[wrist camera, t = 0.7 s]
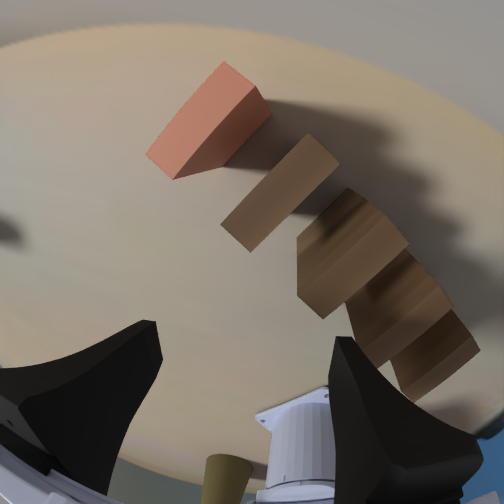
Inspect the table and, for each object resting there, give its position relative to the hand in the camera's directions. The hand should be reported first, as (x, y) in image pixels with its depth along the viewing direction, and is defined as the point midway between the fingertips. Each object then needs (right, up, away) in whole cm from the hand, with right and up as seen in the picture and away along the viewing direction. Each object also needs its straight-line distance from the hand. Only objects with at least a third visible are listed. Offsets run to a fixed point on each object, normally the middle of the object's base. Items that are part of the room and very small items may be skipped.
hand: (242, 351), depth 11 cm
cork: (-3, -23, +20) cm, 31 cm away
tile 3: (+6, +6, +8) cm, 11 cm away
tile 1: (+12, 0, +9) cm, 15 cm away
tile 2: (+9, +3, +9) cm, 13 cm away
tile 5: (-1, +12, +7) cm, 13 cm away
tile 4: (+2, +9, +7) cm, 12 cm away
